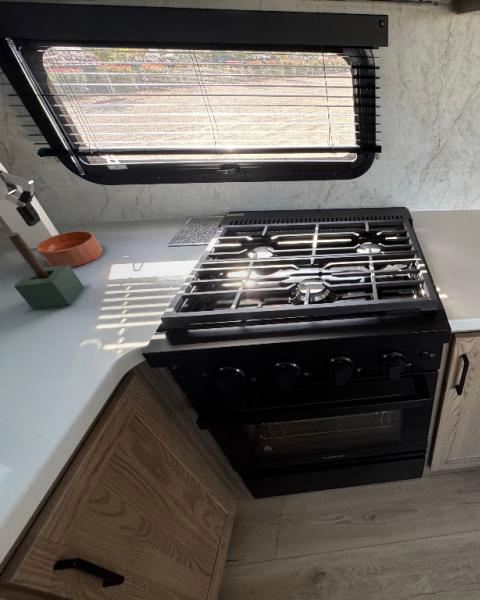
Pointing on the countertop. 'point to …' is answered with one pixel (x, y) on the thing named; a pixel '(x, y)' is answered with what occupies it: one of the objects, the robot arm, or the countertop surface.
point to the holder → (50, 288)
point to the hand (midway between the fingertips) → (6, 225)
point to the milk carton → (18, 225)
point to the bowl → (70, 248)
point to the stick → (28, 255)
